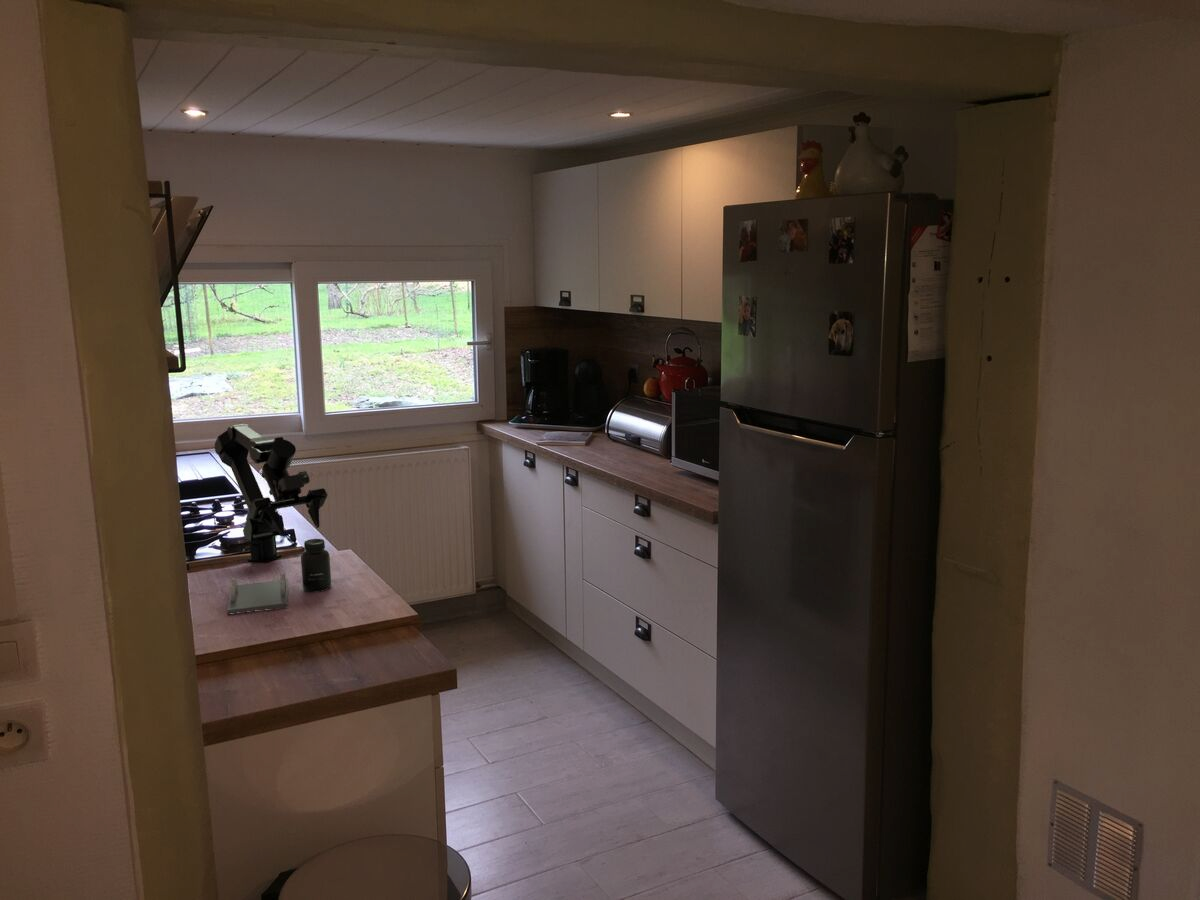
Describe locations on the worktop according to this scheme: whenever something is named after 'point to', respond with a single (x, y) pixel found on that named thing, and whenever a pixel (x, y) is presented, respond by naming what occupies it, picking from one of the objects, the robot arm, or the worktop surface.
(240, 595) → the pin tray
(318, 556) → the supplement bottle
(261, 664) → the worktop surface
